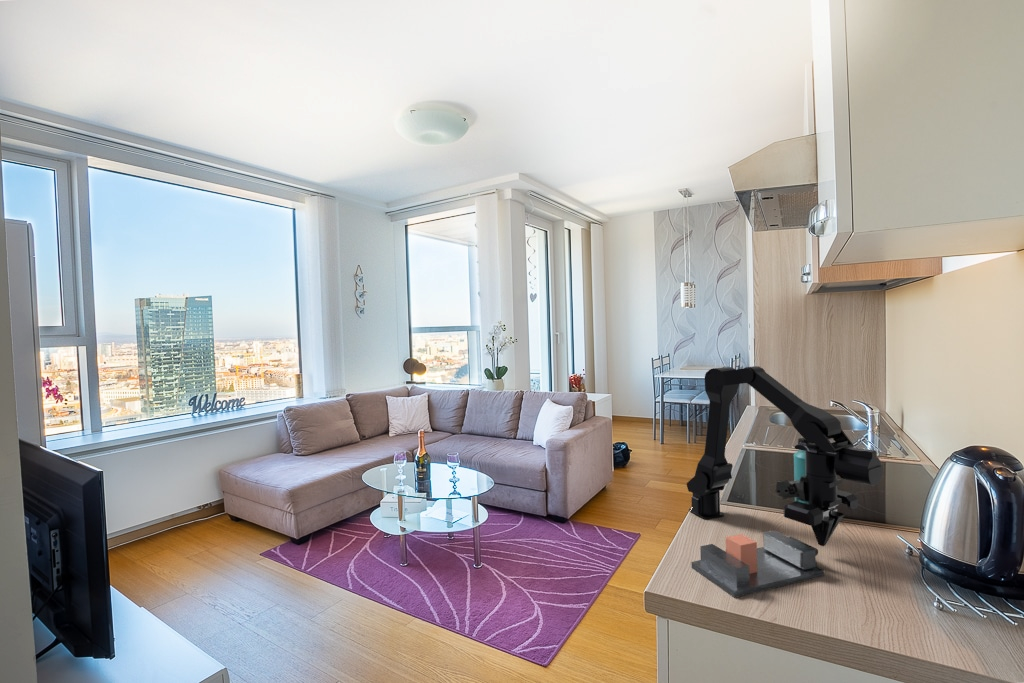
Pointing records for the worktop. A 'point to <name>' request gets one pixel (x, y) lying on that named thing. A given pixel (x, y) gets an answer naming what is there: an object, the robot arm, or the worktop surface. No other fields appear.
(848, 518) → the worktop surface
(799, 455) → the beverage bottle
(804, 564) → the sliding jaw
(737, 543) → the brick-red block
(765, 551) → the vise base
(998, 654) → the worktop surface
